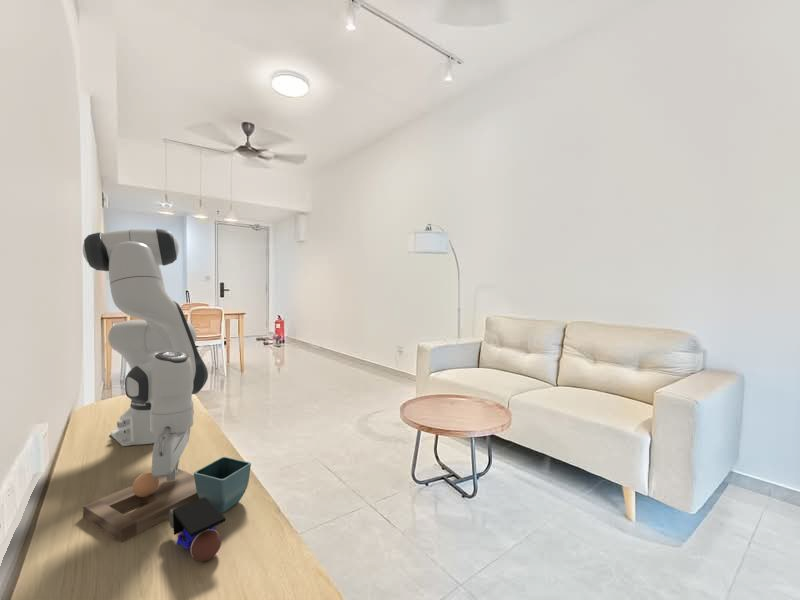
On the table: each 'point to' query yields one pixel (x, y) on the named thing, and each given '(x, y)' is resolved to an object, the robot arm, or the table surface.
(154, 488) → the rubber ball
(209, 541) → the figurine character
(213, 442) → the table surface
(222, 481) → the flower pot
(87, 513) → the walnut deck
